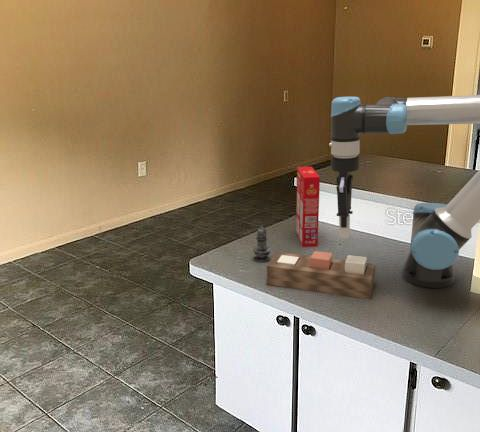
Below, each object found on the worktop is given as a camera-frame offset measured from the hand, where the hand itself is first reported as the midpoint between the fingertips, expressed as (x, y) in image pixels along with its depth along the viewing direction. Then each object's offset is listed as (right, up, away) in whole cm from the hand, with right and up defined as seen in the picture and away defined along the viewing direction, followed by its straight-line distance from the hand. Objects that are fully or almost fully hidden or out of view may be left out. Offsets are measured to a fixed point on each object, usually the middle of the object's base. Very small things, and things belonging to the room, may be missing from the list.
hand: (344, 236), depth 152 cm
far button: (-15, -11, +10) cm, 21 cm away
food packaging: (-6, -3, +41) cm, 42 cm away
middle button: (-6, -10, +5) cm, 13 cm away
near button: (+4, -11, +2) cm, 11 cm away
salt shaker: (-22, -9, +25) cm, 35 cm away
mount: (-6, -14, +7) cm, 17 cm away
